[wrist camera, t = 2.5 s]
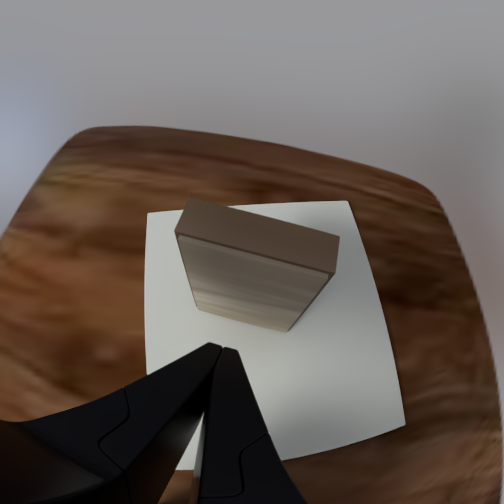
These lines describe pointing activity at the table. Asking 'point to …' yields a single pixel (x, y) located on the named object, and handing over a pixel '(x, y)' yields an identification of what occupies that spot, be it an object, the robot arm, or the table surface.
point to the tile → (253, 264)
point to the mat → (287, 340)
